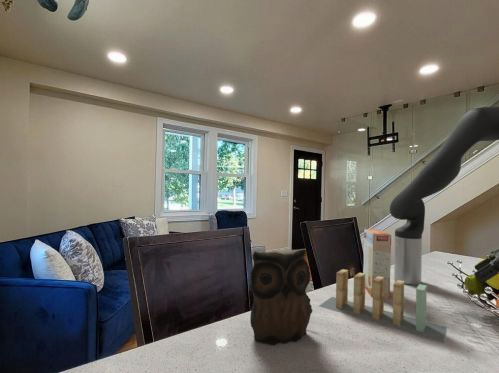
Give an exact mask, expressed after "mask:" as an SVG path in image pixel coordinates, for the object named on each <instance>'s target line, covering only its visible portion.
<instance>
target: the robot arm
mask: <svg viewBox="0 0 499 373" xmlns="http://www.w3.org/2000/svg"><path fill="white" fill-rule="evenodd" d="M488 141H489V142H491V141H492V142H494V141H499V106H478V107H474V108H471V109H470V110H468V111H467V112H466V113H465V114H463V116H462V117H461V119H460V120H459V121H458V122H457V124H456V125H455V127H454V128H453V130H452V132H451V133H450V134H449V136H448V137H447V139H446V140H445V142H444V143H443V144H442V145H441V147H440V148H439V149H438V150H437V151H436V153H435V154H434V155H433V156H432V158H430V160H428V162H427V163H426V164H425V165H424V166H423V168H422V169H421V170H420V171H419V173H418V174H417V175H416V176H415V177H414V178H413V179H412V180H411V181H410V182H409V184H407V186H406V187H405V188H403V189H402V190H401V191H400V192H399V193H398V194H397V195H396V196H395V197H394V198H393V199H392V200H391V203H390V206H389V213H390V215H391V217H393V218H394V219H397V220H401V221H403V220H405V221H406V222H405V224H403V225H402V226H400V227H398V228H396V229H395V231H394V272H393V273H394V275H393V276H394V281H395V282H396V281H397V280H401V281H404V285H405V284H406V285H412V286H413V285H415V286H416V285H417V286H418V285H419V284H422V268H423V267H422V263H423V262H422V255H423V252H422V250H423V246H422V245H423V244H422V243H423V242H422V240H423V237H422V236H423V233H424V230H425V216H426V205H425V202H424V201H423V199H425V198H427V197H430V196H433V195H435V194H436V193H439V192H441V191H443V190H444V189H446V188H447V187H448V186H449V185H450V184H451V183H452V182H453V181H454V180H455V179H456V178H457V177H458V175H459V174H460V171H461V167H462V160H463V157H464V155H465V154H466V153H467V152H468V151H469V150H470V149H471V148H472V147H473V146H475V145H476V144H477V143H479V142H488ZM474 269H475V270H476V271H475V272H474V273H473V274H474V275H473V276H474V277H475V278H476V279H477V280H478V281H480V282H481V283H486V282H487V281H489V280H491V279H492V278H494V277H495V276H497V275H498V274H499V247H497V248H496V249H494V250H493V251H491V252H490V253H489V254H488V256H487V257H486V258H485V259H483V260H482V261H480V262H478V263H477V264H475V265H474Z"/></svg>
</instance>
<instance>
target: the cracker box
mask: <svg viewBox="0 0 499 373" xmlns="http://www.w3.org/2000/svg"><path fill="white" fill-rule="evenodd" d="M363 231H364V232H363V268H362V269H363V270H362V273H365V291H367V292H368V294H369V296H370V297H371V298H373V280H374V279H375V278H376V277H377V276H380V277H384V300H385V299H386V300H390V298H391V266H392V264H391V262H392V261H391V260H392V259H391V258H392V256H391V254H392V234H390V233H388V232H385V231H383V230H381V229H374V228H372V229H371V228H370V229H369V228H368V229H367V228H365V229H364V230H363Z"/></svg>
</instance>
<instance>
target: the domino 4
mask: <svg viewBox="0 0 499 373" xmlns="http://www.w3.org/2000/svg"><path fill="white" fill-rule="evenodd" d="M392 286H393V288H392V289H393V290H392V294H393V295H392V313H393V324H396V325H399V326H400V325H401V323H402V321H403V320H404V316H405V283H404V281H401V280H397V281H396V280H395V282H394V283H393V285H392Z"/></svg>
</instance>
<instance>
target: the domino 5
mask: <svg viewBox="0 0 499 373" xmlns="http://www.w3.org/2000/svg"><path fill="white" fill-rule="evenodd" d="M427 288H428V285H427V284H426V285H425V284H422V283H421V284H419V285H417V287H416V289H415V292H416V293H415V319H416V330H417V331H421V332H424V330H425V327H426V322H427V300H428V298H427V293H428V292H427Z"/></svg>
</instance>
